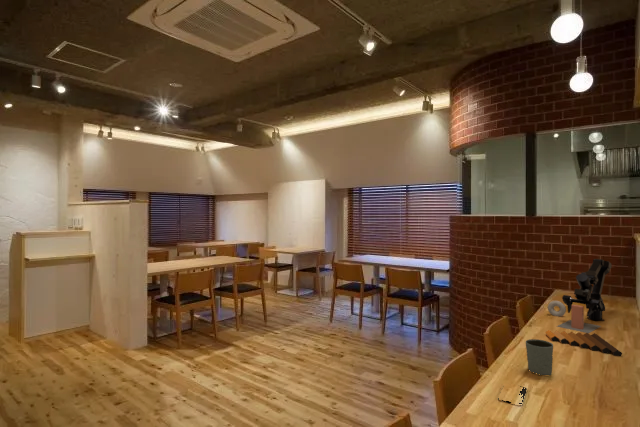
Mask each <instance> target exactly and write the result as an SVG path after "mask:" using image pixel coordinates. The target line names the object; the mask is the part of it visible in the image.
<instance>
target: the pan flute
mask: <svg viewBox="0 0 640 427" xmlns="http://www.w3.org/2000/svg"><path fill="white" fill-rule="evenodd" d="M544 333H545V335H546V336H547V338H548V339H549V340H550V341H551V342H556V343H557V342H559V343H561V344H563V345H568V344H569V345H570V346H571V347H578V346H579V347H580V348H581V349H587V350H588V349H590V350H591V351H593V352H601V353H603V354H606V355H607V354H612V355H613V356H614V357H622V355H623V353H622V351H621V350H619V349H617V348H616V347H614V346H613V345H612V344H611V343H609V342H608V341H607V340H605V339H604V338H603V337H601V336H600V335H599V334H597V333H595V332H594V333H592V334H590V333H585V332H584V333H582V332H580V331H577V333H574V332H573V331H569V332H566V331H564V330H563V331H562V332H559V331H557V330H555V331H553V332H552V330H550V329H548V330H547V331H545V332H544Z"/></svg>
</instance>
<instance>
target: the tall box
mask: <svg viewBox="0 0 640 427" xmlns="http://www.w3.org/2000/svg"><path fill="white" fill-rule="evenodd" d="M584 311H585V310H584V306H583V305H577V304H572V305H571V311H570V313H571V316H570V317H571V319H570V320H571V327H572V328H576V329H581V330H582V329H584V323H585V321H584V320H585V319H584V317H585V314H584Z"/></svg>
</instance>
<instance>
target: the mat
mask: <svg viewBox="0 0 640 427" xmlns="http://www.w3.org/2000/svg"><path fill="white" fill-rule="evenodd" d="M556 327H557V328H562V329H565V330H566V329H567V330H572V331H576V332H580V333H584V334H585V333H588V334H590V333H592V332H594V331H595V330H597V329H599V328H602V326H601V325H597V324H593V323H588V322H584V329H582V330H581V329H576V328H572V327H571V319H569V320H567V321H565V322H562V323H561V324H558V325H556Z"/></svg>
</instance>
